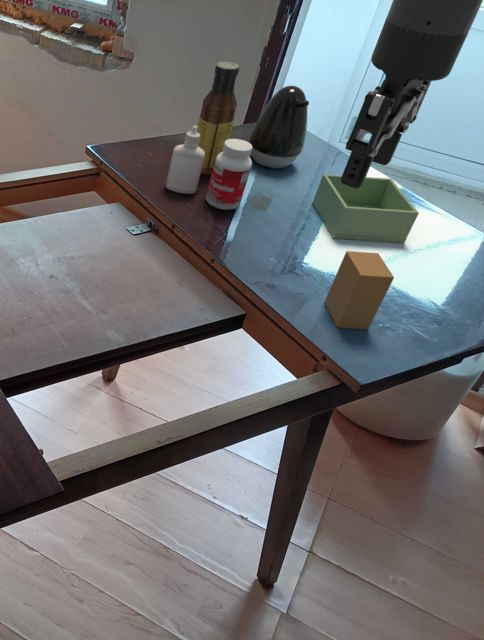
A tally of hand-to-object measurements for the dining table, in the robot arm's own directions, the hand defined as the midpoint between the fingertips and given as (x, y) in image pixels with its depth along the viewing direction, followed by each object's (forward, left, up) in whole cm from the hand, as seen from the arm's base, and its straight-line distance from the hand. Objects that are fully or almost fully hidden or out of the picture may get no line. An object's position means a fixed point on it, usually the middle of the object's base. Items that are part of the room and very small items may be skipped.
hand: (364, 173), depth 77 cm
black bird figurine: (-10, -57, -25) cm, 63 cm away
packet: (-9, -7, -25) cm, 28 cm away
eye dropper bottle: (+10, -43, -25) cm, 51 cm away
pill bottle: (+3, -39, -25) cm, 47 cm away
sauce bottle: (+4, -52, -25) cm, 58 cm away
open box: (-20, -35, -25) cm, 48 cm away
